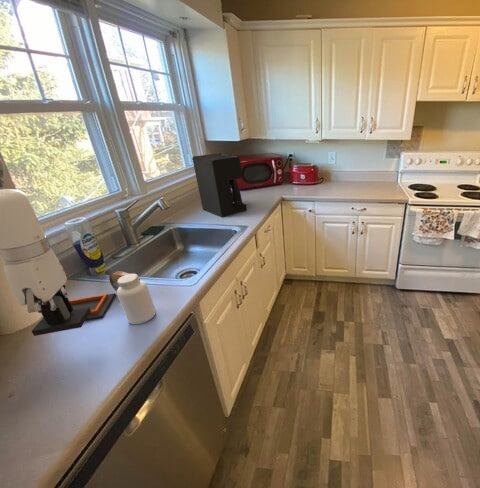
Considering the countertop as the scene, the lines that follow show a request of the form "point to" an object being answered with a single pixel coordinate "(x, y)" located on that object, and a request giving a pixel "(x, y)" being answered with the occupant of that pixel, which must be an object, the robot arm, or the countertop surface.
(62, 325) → the stud pad
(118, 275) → the tin
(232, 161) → the coffee maker
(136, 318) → the pill bottle
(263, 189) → the countertop surface
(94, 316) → the base pad
